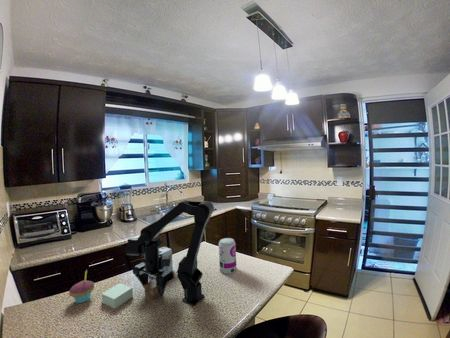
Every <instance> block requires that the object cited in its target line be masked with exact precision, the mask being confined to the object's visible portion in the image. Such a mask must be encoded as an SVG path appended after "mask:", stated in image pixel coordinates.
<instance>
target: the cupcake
mask: <svg viewBox="0 0 450 338" xmlns="http://www.w3.org/2000/svg"><path fill="white" fill-rule="evenodd" d="M87 274H88V269H87V268H86V270H85V271H84V280H81V281H79V282H77V283H74V285H72V286H71V288H70V289H69V292H68V293H69V294H68V295H69V296H70V297H72V298H73V299H74V300H75V303H76V304H81V303H85V302H87V301H89V300H90V298H91V293H92V291H93V290H94V289H95V283H94V281H92V280H87V276H88V275H87Z"/></svg>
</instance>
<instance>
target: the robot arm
mask: <svg viewBox="0 0 450 338" xmlns="http://www.w3.org/2000/svg"><path fill="white" fill-rule="evenodd" d="M214 210H215V207H214V204H213V203H212V202H211V201H208V200H204V201H203V202H202V201H197V200H195V201H192V200H191V201H190V200H187V199H186V200H185V199H183V200H182V201H180V202H178V203H177V205H176V206H174V207H173V208H171V209H170V210H169V211H168V212H167V213H166V214H164V215H163V216H161V217H160V218H159V219H158V220H156V221H154V222H152V223H150V224H149V225H147V226H145V227H143V228H142V229H141V230H140V233H139V234H140V235H139V236H138V238H136V237H130V238H128V239H127V243H126V245H125V249H124V252H125V255H126V256H139V257H140V256H142V255H143V254H144V255H143V256H144V258H143V259H141V261H142V262H140V263H139V264H136V265H135V266H134V267H133V268H132V274H133V275H134V276H135V277H136V278H137V279H138V281H139V282H140V284H141V286H142V287H143V288H144V285H145V284H147V283H149V275H154V276H156V279H155V280H156V282H157V283H156V286H157V289H158V292H159V294H160V296H159V298H162V297H163V296H164V294H165V291H166V286H167V284H168V283H169V282H170V281H171V280H173V279H175V277H174V276H175V275H174V271H173V270H172V271H169V270H164V271H163V272H161V271H160V269H163V267H165V266H168V267H169V266H170V261H171V258H167V257H163V256H162V254H159V249H160V247H161V246H162V245H163V244H164V240H161V239H160V238H159V237H158V236H159V235H160V234H162V232H163V231H164V229H165V228H166V227H167V226H168V225H169V224H170V223H172V222H173V221H174V220H175V219H176V218H179V217H180V216H181V215H182V214H183V213H185V214H187V215H189V216H193V220H194V221H193V222H194V226H193V230H192V234H191V236H190V240H189V244H188V245H189V246H188V248H187V251H186V254H185V255H186V256H184V257H182V259H181V260H180V262H178V265H177V266H178V268H177V270H176V272H175V273H176V274H177V279H178V281H179V282H180V285H181V286H182V289H183V296H184V297H182V299H181V301H182V302H184V303H187V304H189V305H192V306H196V305H197V304H198V303H199V302H200V301H201V300H203V299H204V298H205V294H203V291H202V290H203V288H202V283H201V279H202V277H203V272H202V271H201V270H200V269H199V268H198V255H199V251H200V247H201V243H202V240H203V237H204V233H205V229H206V226H207V224H208V222H209V221H210V220H211V217H212V214H213V212H214ZM157 237H158V238H157ZM155 238H156V239H155ZM144 290H145V288H144Z"/></svg>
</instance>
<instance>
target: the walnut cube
mask: <svg viewBox="0 0 450 338" xmlns="http://www.w3.org/2000/svg"><path fill="white" fill-rule="evenodd" d="M156 283H157V282H156V279H154V278H153V279H151V281H148V283H147V284H145V285H144V287H143V288H145V289H144V298H146V299H149V300H152V301H155V300H156V299H158V298H160V294H159V292H158V289H157V286H156Z"/></svg>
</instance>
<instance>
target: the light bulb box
mask: <svg viewBox="0 0 450 338" xmlns="http://www.w3.org/2000/svg"><path fill="white" fill-rule="evenodd" d="M159 254H162V256H163V257H167V258H171V261H170V266H169V267H168V266H165V267H163V269H160V271H161V272H163V271H164V270H169V271H172V272H173V271H174V267H173V249H172V248H169V247H167V246H162V247H159ZM148 277H150V278H152V277H153V279H154V278H155V280H156V276H154V275H148Z"/></svg>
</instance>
